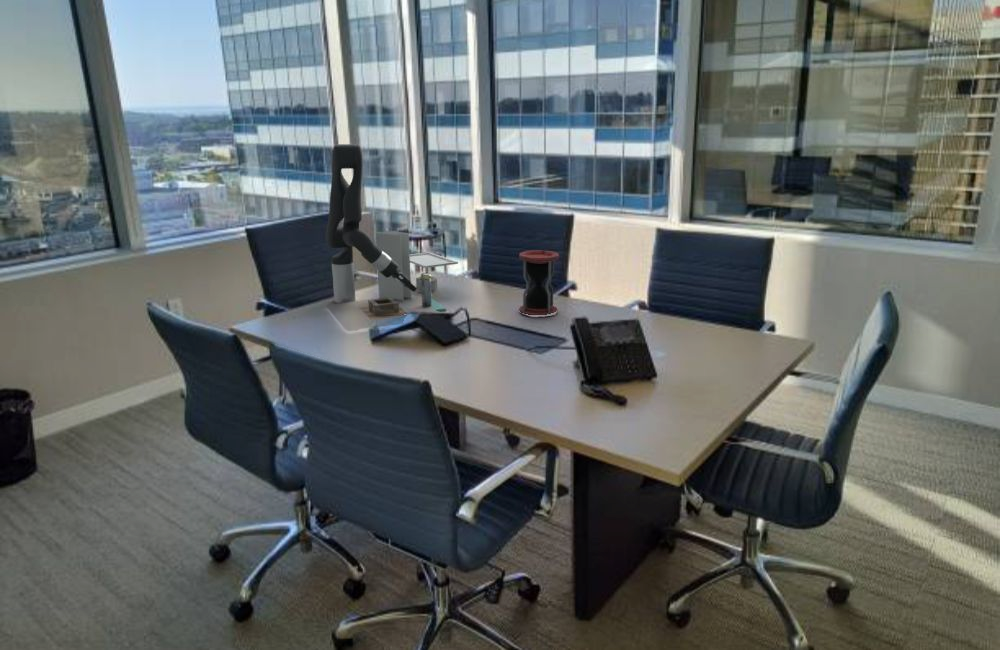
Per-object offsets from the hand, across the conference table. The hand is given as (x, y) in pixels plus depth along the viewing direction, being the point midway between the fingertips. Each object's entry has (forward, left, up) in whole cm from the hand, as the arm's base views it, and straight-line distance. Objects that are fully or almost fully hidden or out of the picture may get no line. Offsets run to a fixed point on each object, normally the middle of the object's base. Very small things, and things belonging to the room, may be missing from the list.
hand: (411, 288), depth 289 cm
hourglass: (+26, +46, -10) cm, 54 cm away
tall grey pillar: (-20, -2, -10) cm, 22 cm away
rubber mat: (0, +6, -10) cm, 11 cm away
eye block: (0, -13, -10) cm, 16 cm away
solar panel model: (-30, +17, -10) cm, 36 cm away
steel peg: (0, +6, -9) cm, 11 cm away
